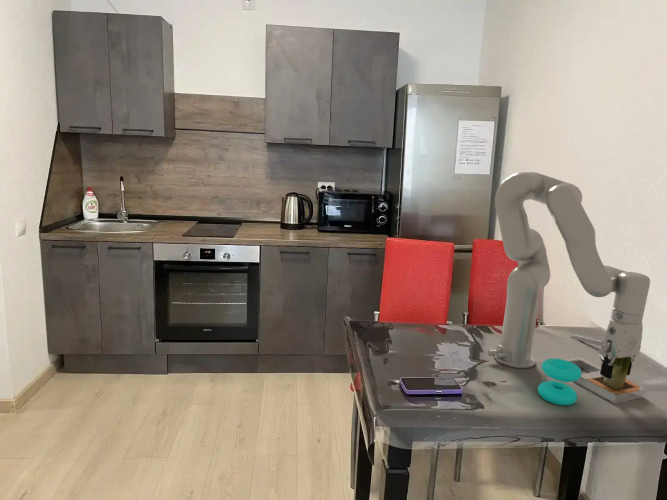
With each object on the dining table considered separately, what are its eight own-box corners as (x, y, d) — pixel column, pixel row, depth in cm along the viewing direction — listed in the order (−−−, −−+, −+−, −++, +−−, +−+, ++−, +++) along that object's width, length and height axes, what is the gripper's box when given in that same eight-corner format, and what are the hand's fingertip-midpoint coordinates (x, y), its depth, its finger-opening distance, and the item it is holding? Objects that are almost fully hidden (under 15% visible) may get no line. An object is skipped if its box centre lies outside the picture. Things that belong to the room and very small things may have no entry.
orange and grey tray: (614, 403, 138) (615, 394, 138) (551, 368, 158) (552, 360, 157) (643, 397, 143) (645, 388, 143) (578, 364, 163) (580, 356, 162)
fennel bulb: (623, 396, 142) (635, 357, 140) (605, 392, 143) (616, 353, 141) (616, 387, 148) (627, 349, 145) (598, 383, 149) (609, 345, 146)
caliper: (620, 360, 169) (624, 342, 167) (618, 360, 168) (621, 343, 167) (571, 336, 187) (574, 321, 185) (568, 337, 186) (571, 321, 185)
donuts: (535, 357, 140) (564, 355, 143) (529, 390, 143) (558, 387, 146) (560, 374, 131) (591, 371, 134) (553, 408, 133) (584, 405, 136)
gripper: (617, 324, 134) (605, 385, 138) (660, 318, 141) (647, 376, 145) (593, 314, 140) (582, 372, 144) (635, 309, 147) (623, 365, 151)
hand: (614, 374), depth 144 cm, fingers open, 7 cm apart
